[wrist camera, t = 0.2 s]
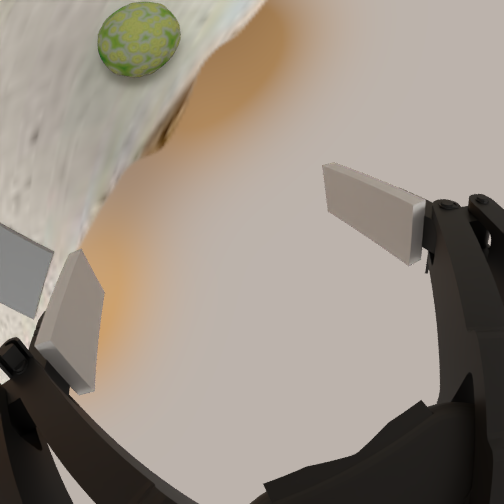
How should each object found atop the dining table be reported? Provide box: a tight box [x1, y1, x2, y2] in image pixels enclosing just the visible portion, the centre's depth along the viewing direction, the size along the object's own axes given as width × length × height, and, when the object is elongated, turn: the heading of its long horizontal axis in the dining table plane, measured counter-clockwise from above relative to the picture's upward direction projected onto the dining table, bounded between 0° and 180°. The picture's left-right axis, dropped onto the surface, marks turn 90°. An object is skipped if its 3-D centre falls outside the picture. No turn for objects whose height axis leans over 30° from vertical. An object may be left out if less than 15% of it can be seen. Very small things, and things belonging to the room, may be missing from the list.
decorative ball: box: [98, 2, 181, 77], centre depth 26 cm, size 10×10×10 cm
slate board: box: [0, 223, 54, 319], centre depth 35 cm, size 14×14×1 cm
